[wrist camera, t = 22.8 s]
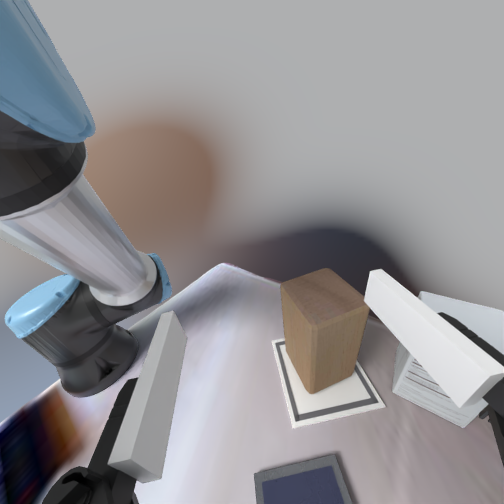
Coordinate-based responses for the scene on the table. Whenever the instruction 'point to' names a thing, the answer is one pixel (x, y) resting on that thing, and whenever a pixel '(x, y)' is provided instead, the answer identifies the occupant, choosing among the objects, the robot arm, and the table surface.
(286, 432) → the table surface
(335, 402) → the mat
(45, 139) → the robot arm
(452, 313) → the supplement box
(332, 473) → the ink pad
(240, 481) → the table surface
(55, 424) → the table surface
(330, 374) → the wooden block
